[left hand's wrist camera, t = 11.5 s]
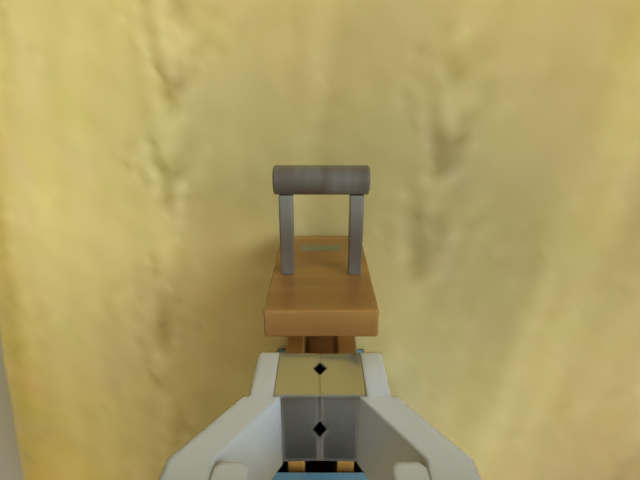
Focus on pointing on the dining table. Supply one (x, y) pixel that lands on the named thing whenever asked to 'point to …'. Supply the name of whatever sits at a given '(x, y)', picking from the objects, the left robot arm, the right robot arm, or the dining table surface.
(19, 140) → the dining table surface
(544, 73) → the dining table surface
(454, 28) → the dining table surface
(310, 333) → the drawer
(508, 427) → the dining table surface
